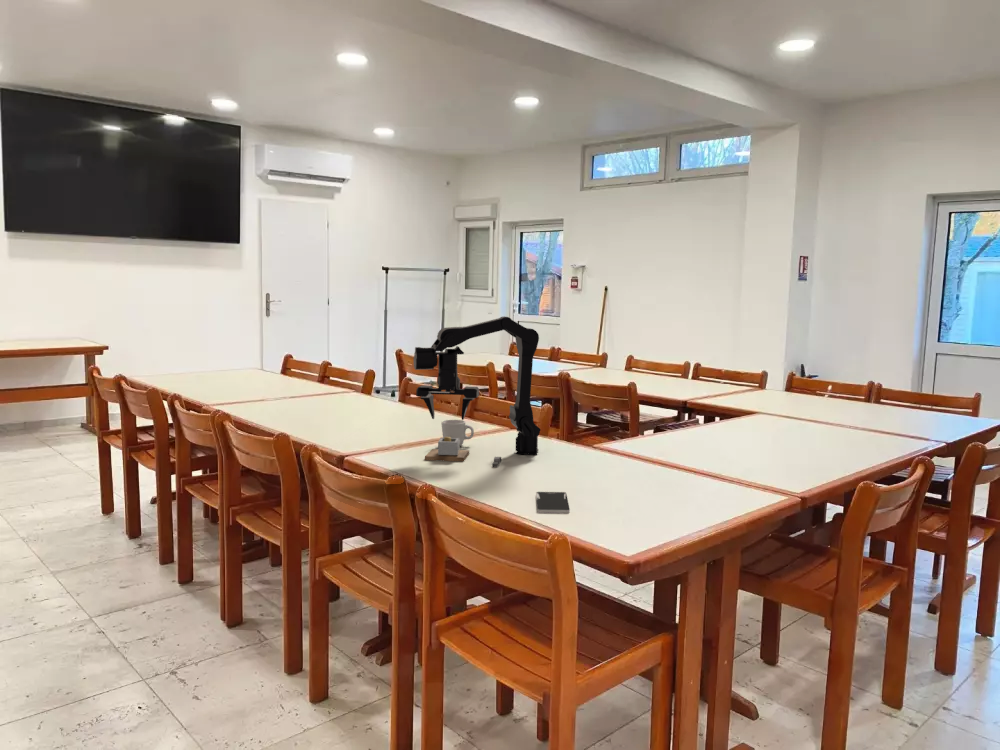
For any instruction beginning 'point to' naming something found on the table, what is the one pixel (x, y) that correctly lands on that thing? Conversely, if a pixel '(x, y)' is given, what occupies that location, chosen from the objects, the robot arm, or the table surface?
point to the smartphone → (552, 502)
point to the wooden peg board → (434, 455)
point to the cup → (456, 429)
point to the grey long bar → (496, 461)
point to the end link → (449, 446)
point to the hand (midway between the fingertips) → (448, 419)
